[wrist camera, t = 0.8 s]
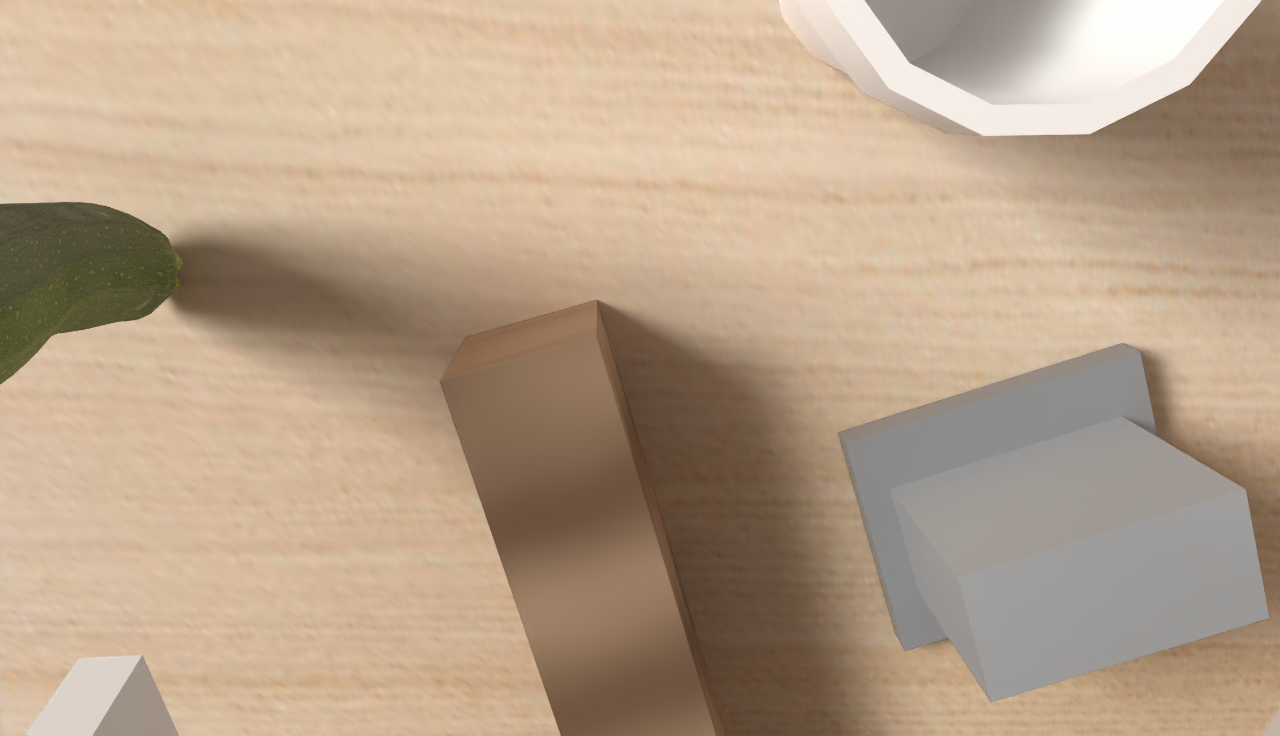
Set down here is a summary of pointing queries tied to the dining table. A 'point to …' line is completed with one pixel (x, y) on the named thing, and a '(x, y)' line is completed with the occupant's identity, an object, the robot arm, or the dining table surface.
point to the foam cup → (1016, 56)
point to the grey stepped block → (1051, 526)
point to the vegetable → (75, 273)
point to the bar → (579, 527)
